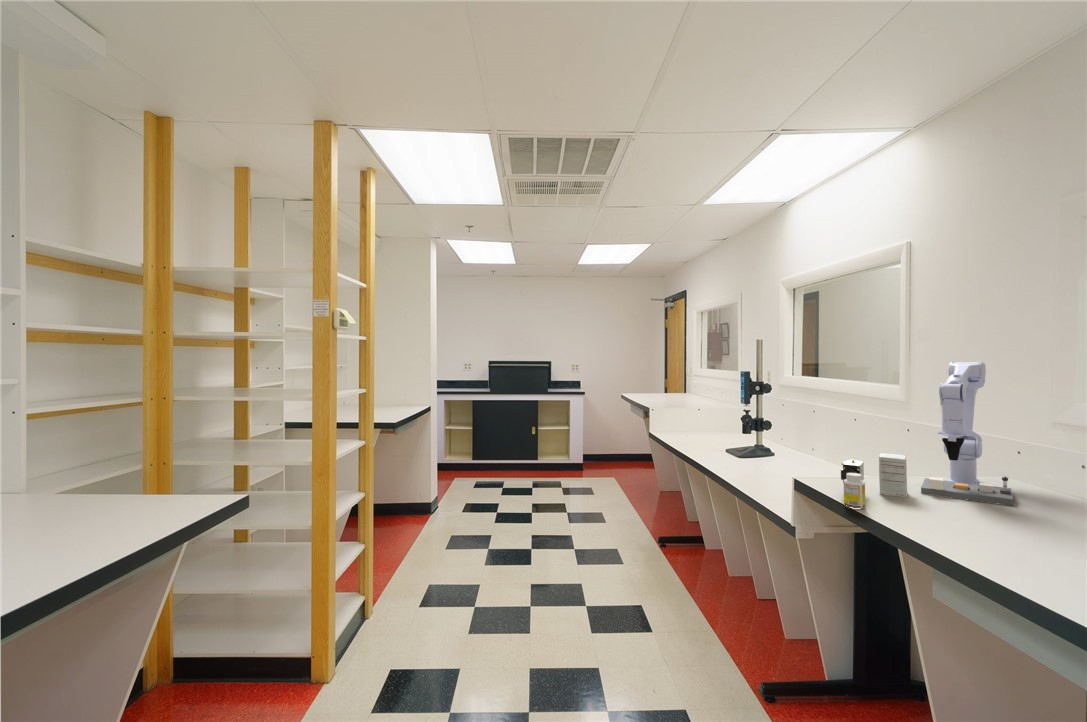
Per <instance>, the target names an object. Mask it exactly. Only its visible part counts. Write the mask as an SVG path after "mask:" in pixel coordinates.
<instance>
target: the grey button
mask: <svg viewBox="0 0 1087 722" xmlns="http://www.w3.org/2000/svg"><path fill="white" fill-rule="evenodd" d="M978 485H979V491H980V492H988V493H993V486H994V484H991V483H984V482H978Z"/></svg>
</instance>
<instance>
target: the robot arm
mask: <svg viewBox="0 0 1087 722" xmlns="http://www.w3.org/2000/svg"><path fill="white" fill-rule="evenodd" d="M947 371H948V376H949V377H948V378H947V380H946V381H945V383H943V384H940V385H939V389H938V395H939V402H940V406H941V431H940V430H939V431H937V434H938V435H941V436H944V437H942V438H941V440H942V442H943V451H944V453H945V454H946V455H947V457H948V461H949V475H948V476H949V477H948V480H947V481H952V482H961V483H969V484H978V485H979V478H978V477H977V474H978V473H977V471H978V469H977V468H978V467H977V459H980V458H981V457H982V455H983V439H982V436H981V435H980V434H978V433H977V432H975V431H974V430H973V428H974V416H975V415H974V414H975V403H976V395H977V392H978V390H979V389H980V388H983V387H984V386H985V383H986V372H987V368H986V364H985V362H984V361H970V362H969V361H968V362H967V361H965V362H964V361H963V362H962V361H961V362H960V361H950V363H948V370H947Z"/></svg>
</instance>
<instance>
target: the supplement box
mask: <svg viewBox="0 0 1087 722" xmlns="http://www.w3.org/2000/svg"><path fill="white" fill-rule="evenodd" d="M907 470H908V469H907V455H905V454H897V453H886V452H885V453H884V452H883V453H882V452H880V453H879V456H878V471H879V473H878V474H879V477H878V478H879V481H878V482H879V494H880V495H882V494H883V495H884V496H889V495H891V496H890V497H897V496H900V497H899V498H907V497H908V480H907V479H908V477H907V476H908V474H907Z"/></svg>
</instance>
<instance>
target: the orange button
mask: <svg viewBox="0 0 1087 722" xmlns="http://www.w3.org/2000/svg"><path fill="white" fill-rule="evenodd" d="M955 488H956V489H964V490H968V484H961V483H955Z"/></svg>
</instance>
